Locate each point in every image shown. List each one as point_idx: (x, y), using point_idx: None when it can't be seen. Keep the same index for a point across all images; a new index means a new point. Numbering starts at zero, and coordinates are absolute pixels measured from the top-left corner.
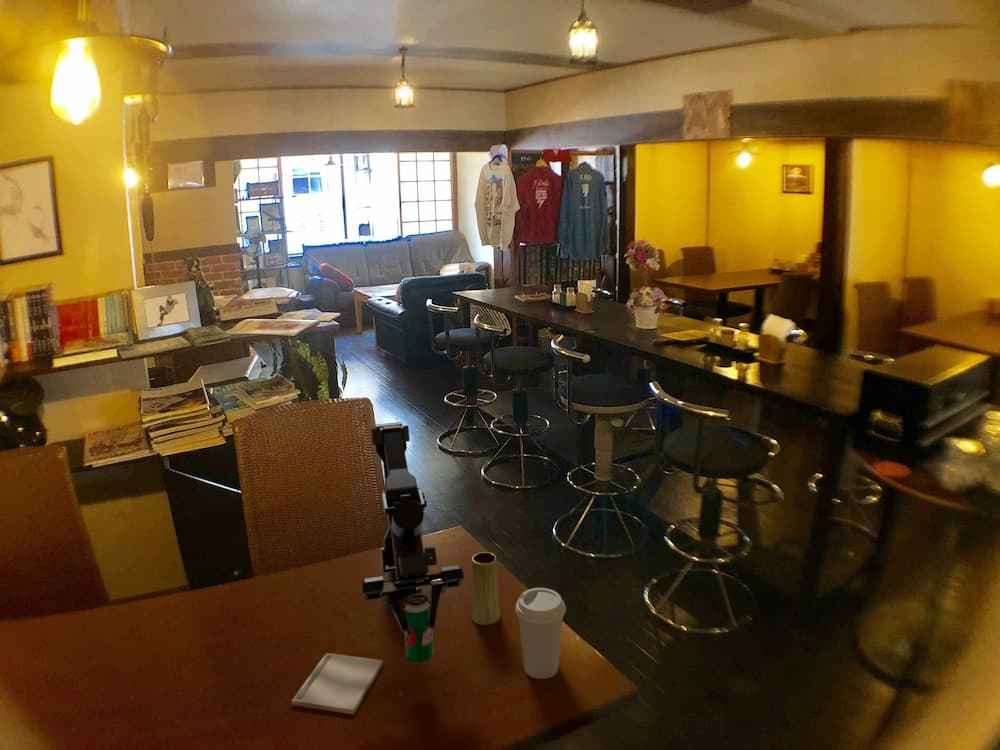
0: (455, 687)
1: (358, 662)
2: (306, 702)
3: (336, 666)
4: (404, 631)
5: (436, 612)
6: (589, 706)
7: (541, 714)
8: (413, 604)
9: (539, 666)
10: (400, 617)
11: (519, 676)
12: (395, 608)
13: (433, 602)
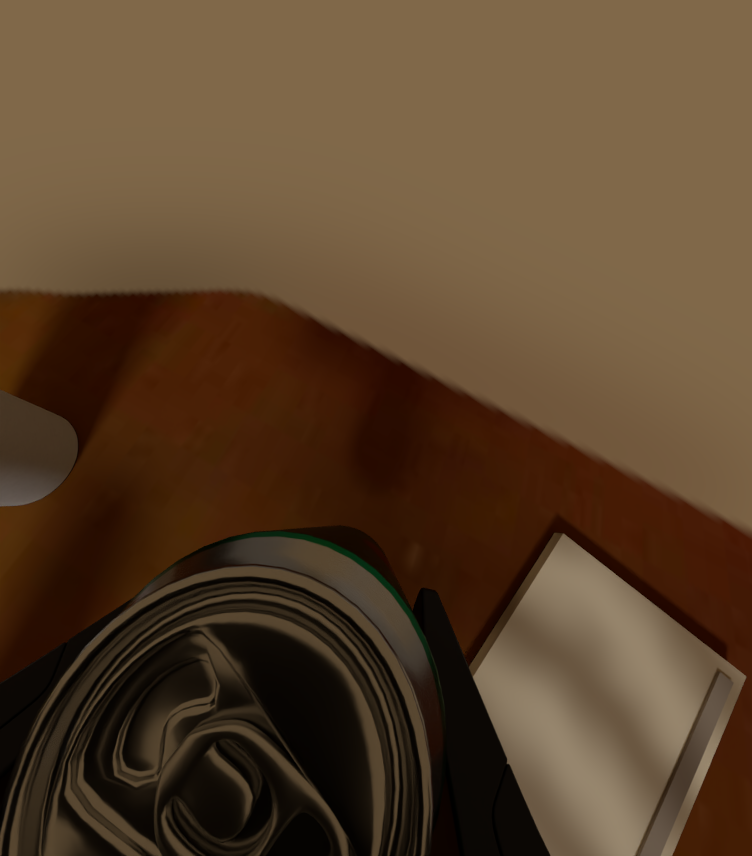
0: (271, 499)
1: None
2: (697, 640)
3: (596, 807)
4: (425, 589)
5: (127, 602)
6: (51, 294)
7: (153, 320)
8: (323, 669)
9: (27, 402)
10: (457, 693)
11: (101, 455)
12: (527, 848)
13: (38, 707)
